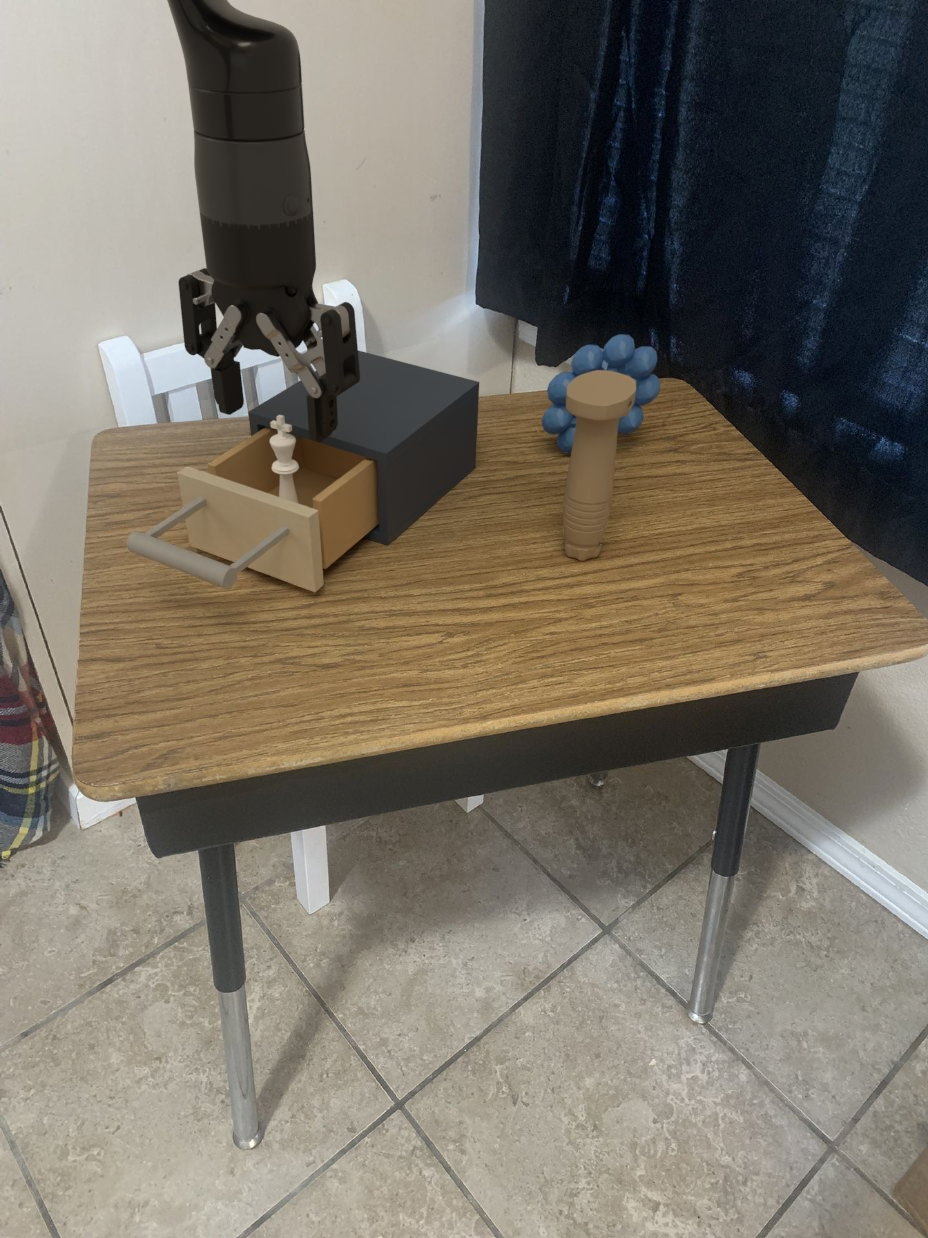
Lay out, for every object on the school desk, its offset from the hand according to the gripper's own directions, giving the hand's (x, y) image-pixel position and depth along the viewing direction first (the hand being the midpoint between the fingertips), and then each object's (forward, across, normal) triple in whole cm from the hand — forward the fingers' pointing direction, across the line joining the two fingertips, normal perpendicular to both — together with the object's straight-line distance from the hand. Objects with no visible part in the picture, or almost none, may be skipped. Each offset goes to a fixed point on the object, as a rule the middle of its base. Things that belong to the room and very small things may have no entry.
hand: (275, 423), depth 75 cm
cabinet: (+11, 0, -12) cm, 17 cm away
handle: (+11, -22, -12) cm, 27 cm away
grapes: (+11, -15, -30) cm, 35 cm away
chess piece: (+10, 0, 0) cm, 10 cm away
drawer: (+10, 0, +2) cm, 11 cm away
